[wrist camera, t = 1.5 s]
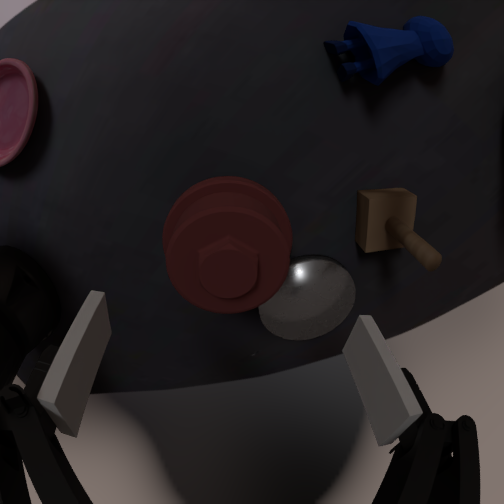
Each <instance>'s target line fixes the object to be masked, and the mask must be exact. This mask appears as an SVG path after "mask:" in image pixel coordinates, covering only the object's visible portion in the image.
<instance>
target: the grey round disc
mask: <svg viewBox="0 0 504 504" xmlns="http://www.w3.org/2000/svg"><path fill="white" fill-rule="evenodd" d="M355 294H356V291H355V285H354V282H353V279H352V277H351V276H350V274H349V273H348V271H347V270H346V268H345V267H344V266H343V265H342V264H341V263H340V262H338V261H337V260H335V259H333V258H331V257H328V256H324V255H315V254H311V255H303V256H298V257H295V258H292V259H290V264H289V270H288V274H287V277H286V279H285V281H284V283H283V285H282V286H281V288H280V289H279V291H278V292H277V293H276V294H275V295H274V296H273V297H272V298H271V299H269V300H268V301H267V302H265V303H264V304H262V305H260V306H258V308H259V314H260V318H261V321H262V323H263V324H264V326H265V327H266V328H267V329H268V330H269V331H270V332H271V333H273V334H275V335H276V336H279V337H281V338H284V339H289V340H307V339H312V338H316V337H319V336H321V335H324V334H326V333H328V332H329V331H331V330H333V329H334V328H335V327H337V326H338V325H339V324H340V323H341V322H342V321H343V320H344V319H345V318H346V317H347V315H348V314H349V312H350V311H351V309H352V307H353V304H354V301H355Z"/></svg>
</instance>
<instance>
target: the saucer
mask: <svg viewBox="0 0 504 504" xmlns="http://www.w3.org/2000/svg"><path fill="white" fill-rule="evenodd" d="M37 111H38V89H37V84H36V80H35V77H34V75H33V72H32V71H31V69H30V68H29V66H28V65H27V64H25V63H24V62H23V61H21V60H18V59H14V58H6V59H2V60H0V167H1V166H4V165H6V164H8V163H10V162H11V161H13V160H14V159H15V158H16V157H17V156H18V155H19V154H20V153H21V151H22V150H23V149H24V147H25V146H26V144H27V142H28V140H29V138H30V136H31V133H32V131H33V128H34V124H35V121H36V117H37Z"/></svg>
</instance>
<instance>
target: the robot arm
mask: <svg viewBox="0 0 504 504" xmlns="http://www.w3.org/2000/svg"><path fill="white" fill-rule="evenodd" d="M60 314H61V309H60V302H59V298H58V295H57V293H56V290H55V288H54V286H53V284H52V283H51V281H50V279H49V278H48V276H47V275H46V273H45V272H44V271H43V270H42V268H41V267H40V266H39V265H38V264H37V263H36V262H35V261H34V260H33V259H32V258H31V257H29V256H28V255H27V254H25V253H24V252H22V251H20V250H18V249H16V248H14V247H10V246H0V504H31V500H30V496H29V492H28V488H27V483H26V478H25V473H24V468H23V462H24V465H25V467H26V470H27V472H28V474H29V477H30V479H31V481H32V483H33V485H34V488H35V490H36V492H37V494H38V496H39V498H40V500H41V502H42V504H93V503H92V501H91V500H90V498H89V497H88V495H87V493H86V492H85V490H84V489H83V487H82V485H81V483H80V482H79V480H78V478H77V476H76V475H75V473H74V471H73V469H72V467H71V465H70V464H69V462H68V460H67V458H66V456H65V454H64V452H63V450H62V448H61V445H60V443H59V441H58V439H57V437H56V435H55V434H54V433H55V430H56V427H57V428H58V429H59V431H60V432H61V433H63V434H67V435H70V436H73V437H77V434H78V430H79V427H80V424H81V420H82V417H83V413H84V410H85V407H86V404H87V400H88V397H89V394H90V391H91V388H92V385H93V382H94V379H95V376H96V373H97V371H98V368H99V365H100V362H101V359H102V357H103V354H104V351H105V349H106V346H107V343H108V341H109V338H110V336H111V327H110V322H109V316H108V310H107V304H106V298H105V292H99V291H92V290H91V291H90V293H89V295H88V297H87V298H86V300H85V302H84V303H83V305H82V307H81V309H80V311H79V312H78V314H77V316H76V318H75V320H74V321H73V323H72V325H71V327H70V329H69V331H68V333H67V334H66V336H65V338H64V340H63V342H62V344H61V346H60V347H58V346H54V345H51V344H50V345H49V346H48V347H47V348H46V349H45V350H44V351H43V352H42V354H41V356H40V357H39V359H38V362H37V363H36V365H35V369H33V371H32V373H31V375H30V378H29V380H28V382H27V384H26V386H25V388H24V390H23V388H21V387H20V386H19V385H16V384H12V383H13V380H14V378H15V376H16V374H17V372H18V370H19V368H20V366H21V364H22V362H23V360H24V358H25V356H26V355H27V354H28V353H29V352H30V351H31V350H32V349H34V348H35V347H36V346H37V345H38V344H39V343H40V342H41V341H43V340H45V339H47V338H48V337H49V336H50V335H51V334H52V333H53V331H54V329H55V327H56V326H57V324H58V322H59V320H60ZM342 351H343V354H344V356H345V359H346V361H347V364H348V366H349V369H350V371H351V374H352V376H353V379H354V381H355V384H356V387H357V389H358V392H359V394H360V397H361V399H362V402H363V405H364V407H365V410H366V413H367V415H368V418H369V421H370V424H371V426H372V429H373V432H374V435H375V437H376V440H377V443H378V446H383V445H387V444H391V443H393V442H394V440H396V439H397V438H399V441H400V442H399V443H398V444H397V445H396V446H395V447H394V448H393V449H391V451H390V452H389V453H390V454H391V453H392V452H393V451H395V452H394V454H393V457H392V460H391V462H390V465H389V467H388V470H387V472H386V474H385V477H384V479H383V481H382V483H381V485H380V488H379V490H378V492H377V494H376V496H375V498H374V500H373V502H372V504H480V463H479V449H478V439H477V430H476V425H475V422H474V420H473V419H472V418H471V417H470V416H467V415H463V416H461V417H460V418H458V419H457V420H456V421H445V420H444V419H443V417H442V416H440V415H439V414H436V413H432V412H431V410H430V408H429V406H428V404H427V402H426V400H425V398H424V396H423V394H422V392H421V391H420V390H419V387H418V385H417V384H416V381H415V379H414V377H413V375H412V374H411V373H410V372H409V371H408V370H407V369H406V368H400V366H399V365H398V363H397V361H396V359H395V357H394V355H393V354H392V352H391V350H390V348H389V346H388V344H387V343H386V341H385V339H384V337H383V336H382V334H381V332H380V330H379V329H378V327H377V325H376V323H375V322H374V320H373V318H372V316H371V315H359V317H358V319H357V321H356V323H355V326H354V328H353V330H352V332H351V334H350V336H349V338H348V340H347V342H346V344H345V346H344V348H343V350H342ZM452 452H453V457H452V456H451V453H452ZM22 460H23V462H22Z"/></svg>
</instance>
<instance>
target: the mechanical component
mask: <svg viewBox="0 0 504 504" xmlns="http://www.w3.org/2000/svg"><path fill="white" fill-rule="evenodd" d="M291 248H292V229H291V225H290V221H289V219H288V216H287V214H286V212H285V210H284V208H283V206H282V205H281V203H280V202H279V201H278V199H277V198H276V197H275V196H274V195H273V194H272V193H271V192H270V191H269V190H267V189H266V188H265V187H263V186H262V185H260V184H258V183H256V182H254V181H251V180H248V179H246V178H241V177H234V176H222V177H214V178H210V179H207V180H204V181H201V182H199V183H197V184H195V185H194V186H192V187H190V188H189V189H188V190H186V191H185V192H184V193H183V194H182V195H181V196H180V197H179V198H178V199H177V200H176V202H175V203H174V205H173V206H172V208H171V210H170V212H169V214H168V216H167V219H166V222H165V224H164V229H163V249H164V253H165V256H166V267H167V272H168V275H169V278H170V280H171V282H172V284H173V286H174V287H175V289H176V290H177V291H178V293H179V294H180V295H181V296H182V297H183V298H184V299H186V300H187V301H188V302H190V303H191V304H193V305H195V306H197V307H199V308H201V309H204V310H206V311H210V312H214V313H223V314H233V313H240V312H245V311H248V310H251V309H254V308H256V307H258V306H260V305H262V304H264V303H265V302H267V301H268V300H269V299H271V298H272V297H273V296H274V295H275V294H276V293H277V292H278V291H279V289H280V288H281V286H282V285H283V283H284V281H285V279H286V277H287V274H288V270H289V264H290V252H291Z"/></svg>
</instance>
